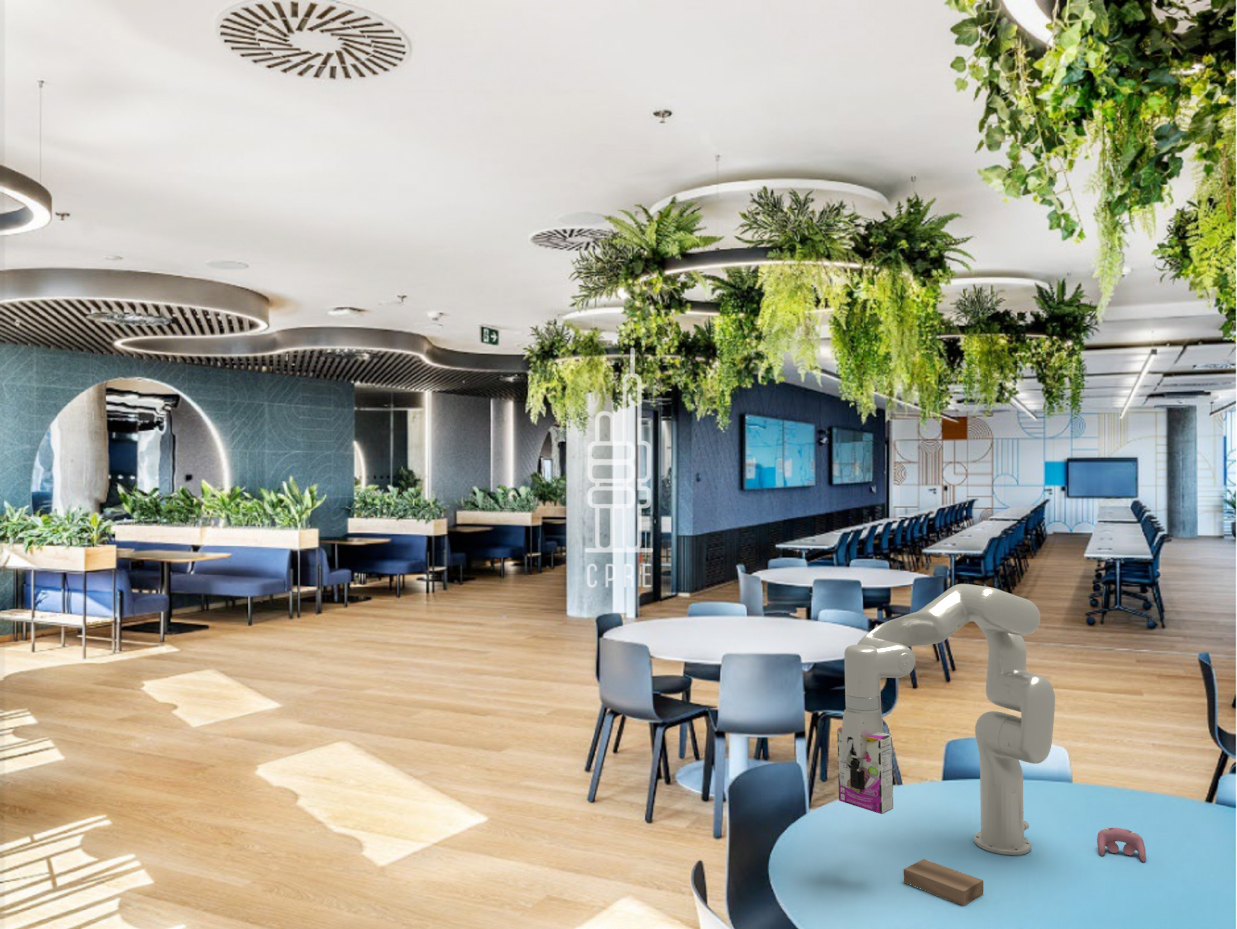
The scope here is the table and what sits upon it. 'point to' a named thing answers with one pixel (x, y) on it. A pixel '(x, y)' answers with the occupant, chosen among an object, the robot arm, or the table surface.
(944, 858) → the table surface
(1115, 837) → the video game controller
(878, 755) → the candy bar box
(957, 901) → the walnut base
